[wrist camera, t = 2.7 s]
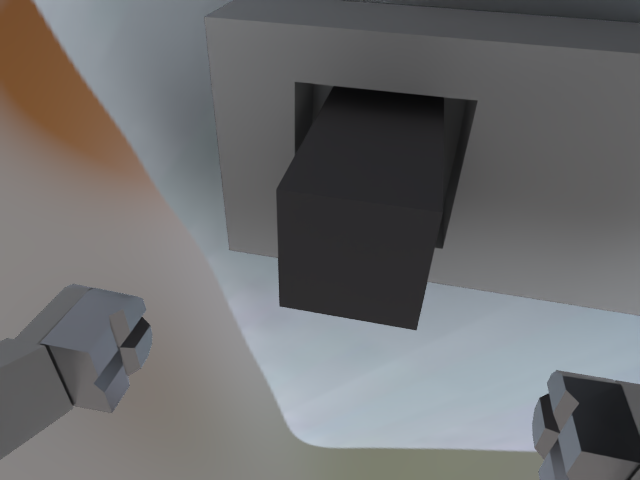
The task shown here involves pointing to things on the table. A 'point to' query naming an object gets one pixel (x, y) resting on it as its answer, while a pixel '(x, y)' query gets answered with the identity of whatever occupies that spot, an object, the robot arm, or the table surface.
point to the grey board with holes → (453, 132)
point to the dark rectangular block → (363, 207)
